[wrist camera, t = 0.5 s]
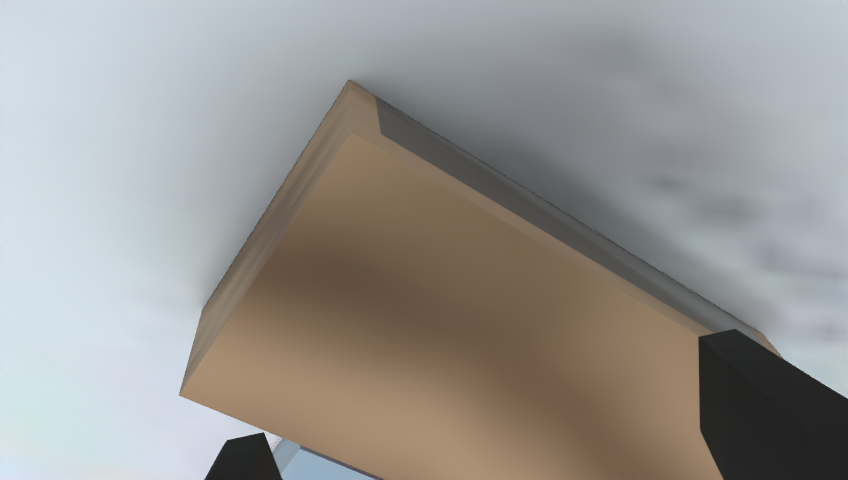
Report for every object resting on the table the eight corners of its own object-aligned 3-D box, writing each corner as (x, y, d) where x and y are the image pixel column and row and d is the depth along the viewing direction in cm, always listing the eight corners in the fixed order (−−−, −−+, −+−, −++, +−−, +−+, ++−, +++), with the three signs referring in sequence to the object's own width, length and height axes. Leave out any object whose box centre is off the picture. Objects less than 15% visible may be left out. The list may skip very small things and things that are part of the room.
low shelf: (603, 493, 28) (640, 584, 24) (202, 310, 22) (178, 395, 19) (763, 335, 25) (829, 413, 21) (348, 80, 19) (351, 131, 16)
